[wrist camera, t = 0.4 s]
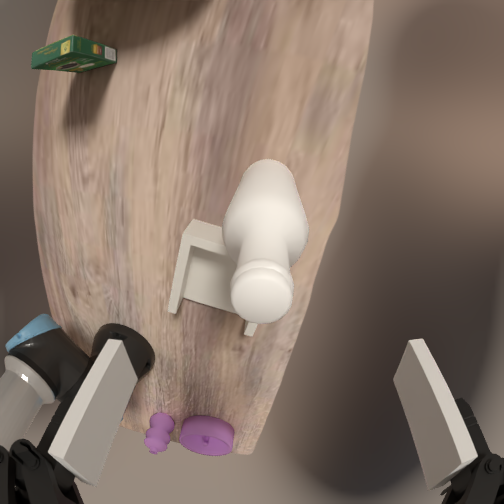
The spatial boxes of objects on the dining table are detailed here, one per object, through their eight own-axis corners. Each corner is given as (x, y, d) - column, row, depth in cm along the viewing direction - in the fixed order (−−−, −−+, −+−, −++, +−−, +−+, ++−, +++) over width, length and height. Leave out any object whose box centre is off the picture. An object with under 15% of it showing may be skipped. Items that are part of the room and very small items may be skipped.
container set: (238, 421, 72) (234, 461, 60) (229, 442, 79) (224, 477, 67) (151, 400, 71) (138, 438, 59) (153, 424, 78) (142, 457, 66)
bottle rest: (254, 315, 54) (252, 336, 49) (176, 292, 53) (167, 311, 48) (281, 246, 48) (283, 263, 43) (193, 218, 47) (183, 232, 41)
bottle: (281, 216, 46) (293, 364, 19) (234, 198, 45) (180, 328, 18) (302, 169, 42) (355, 268, 15) (252, 150, 42) (216, 215, 15)
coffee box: (119, 47, 34) (72, 33, 23) (118, 63, 36) (71, 52, 24) (80, 58, 35) (30, 52, 23) (79, 73, 36) (29, 70, 24)
